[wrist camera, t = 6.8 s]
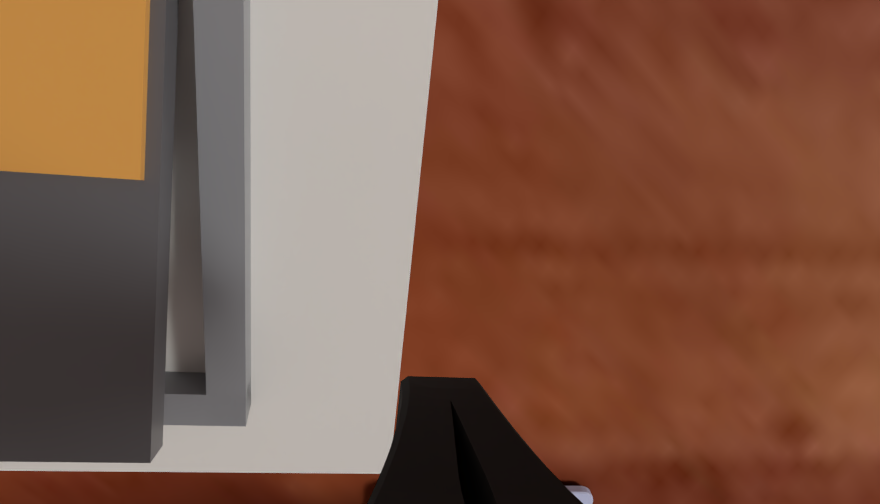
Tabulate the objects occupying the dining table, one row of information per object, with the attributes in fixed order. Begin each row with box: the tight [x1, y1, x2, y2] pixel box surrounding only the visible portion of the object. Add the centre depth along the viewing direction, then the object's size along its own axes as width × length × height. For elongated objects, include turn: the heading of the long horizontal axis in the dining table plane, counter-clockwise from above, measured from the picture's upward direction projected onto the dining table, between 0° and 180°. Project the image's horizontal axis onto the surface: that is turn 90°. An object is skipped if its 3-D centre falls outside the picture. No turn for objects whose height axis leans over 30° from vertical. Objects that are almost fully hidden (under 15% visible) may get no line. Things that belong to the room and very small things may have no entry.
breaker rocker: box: [0, 0, 179, 463], centre depth 14 cm, size 10×5×1 cm, turn 173°
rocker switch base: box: [0, 0, 438, 474], centre depth 17 cm, size 18×16×4 cm
